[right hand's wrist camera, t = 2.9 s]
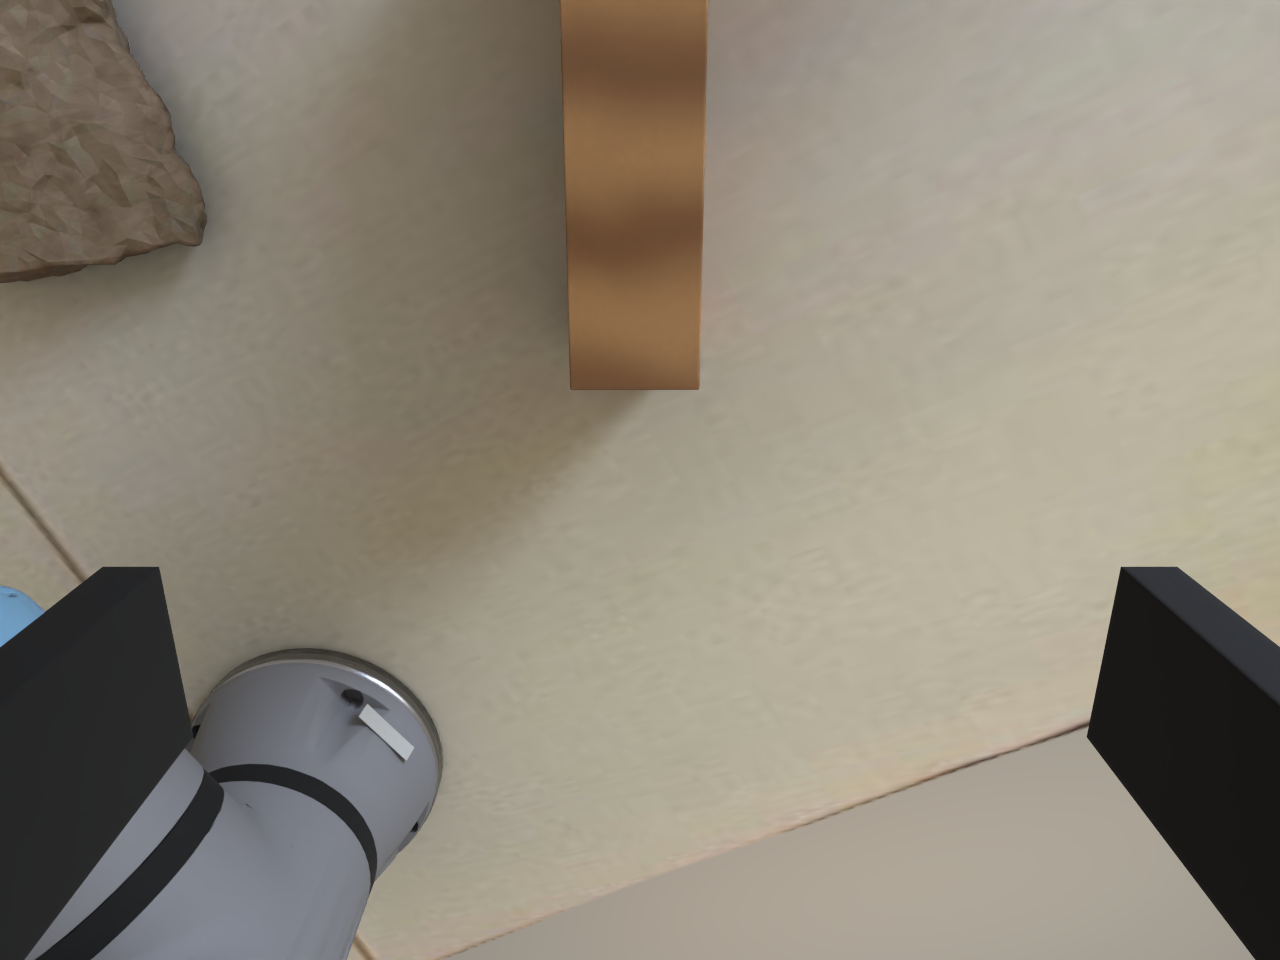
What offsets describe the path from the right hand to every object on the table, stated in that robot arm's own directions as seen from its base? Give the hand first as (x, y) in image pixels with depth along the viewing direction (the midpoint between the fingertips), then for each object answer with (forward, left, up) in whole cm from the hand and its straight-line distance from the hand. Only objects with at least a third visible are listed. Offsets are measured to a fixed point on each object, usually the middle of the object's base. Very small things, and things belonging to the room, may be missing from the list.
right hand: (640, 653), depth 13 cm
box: (+2, +8, -37) cm, 38 cm away
